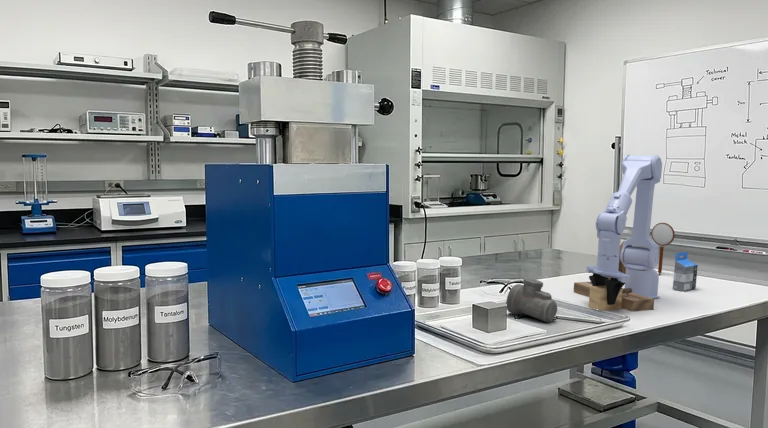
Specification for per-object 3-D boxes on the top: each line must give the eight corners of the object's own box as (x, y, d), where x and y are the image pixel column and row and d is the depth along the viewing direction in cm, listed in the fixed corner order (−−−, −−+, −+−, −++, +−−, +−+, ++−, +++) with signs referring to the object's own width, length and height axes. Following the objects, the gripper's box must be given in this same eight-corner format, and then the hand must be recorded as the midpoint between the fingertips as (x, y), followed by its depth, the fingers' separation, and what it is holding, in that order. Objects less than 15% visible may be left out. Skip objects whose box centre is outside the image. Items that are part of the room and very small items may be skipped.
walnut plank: (593, 290, 181) (594, 281, 181) (653, 309, 159) (654, 298, 159) (573, 291, 178) (574, 282, 178) (631, 311, 156) (632, 300, 156)
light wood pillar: (624, 304, 164) (625, 284, 164) (634, 307, 160) (636, 287, 160) (588, 307, 159) (590, 286, 159) (598, 310, 156) (600, 289, 155)
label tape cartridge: (683, 292, 184) (687, 254, 182) (671, 289, 187) (674, 253, 186) (696, 289, 189) (699, 253, 188) (684, 286, 192) (687, 251, 191)
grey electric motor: (501, 313, 148) (509, 275, 147) (518, 310, 154) (526, 274, 152) (540, 329, 139) (549, 289, 138) (557, 326, 145) (565, 288, 144)
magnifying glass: (672, 277, 209) (676, 223, 207) (669, 277, 208) (674, 224, 206) (649, 273, 216) (653, 221, 214) (647, 273, 215) (651, 221, 213)
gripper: (579, 251, 163) (576, 297, 164) (616, 260, 149) (613, 309, 151) (598, 250, 165) (595, 295, 167) (636, 259, 152) (633, 308, 153)
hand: (605, 302), depth 159 cm, fingers closed on light wood pillar, 4 cm apart
